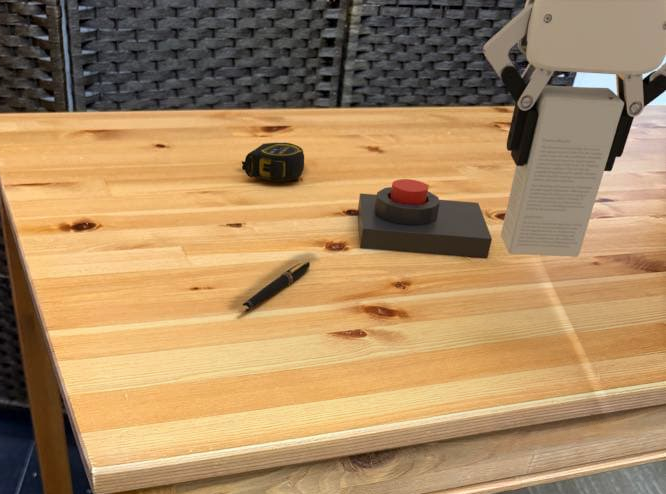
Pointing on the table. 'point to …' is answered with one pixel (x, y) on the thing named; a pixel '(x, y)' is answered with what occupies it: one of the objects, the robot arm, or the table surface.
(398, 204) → the console
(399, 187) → the button
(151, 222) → the table surface
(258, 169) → the tape measure
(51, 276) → the table surface
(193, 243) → the table surface
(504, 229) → the cosmetic box
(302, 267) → the fountain pen
